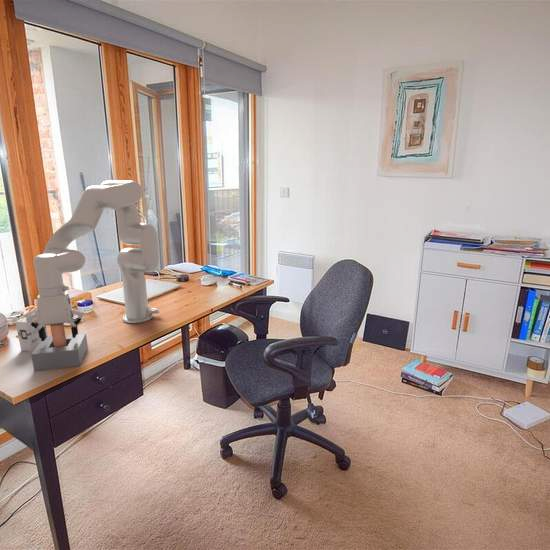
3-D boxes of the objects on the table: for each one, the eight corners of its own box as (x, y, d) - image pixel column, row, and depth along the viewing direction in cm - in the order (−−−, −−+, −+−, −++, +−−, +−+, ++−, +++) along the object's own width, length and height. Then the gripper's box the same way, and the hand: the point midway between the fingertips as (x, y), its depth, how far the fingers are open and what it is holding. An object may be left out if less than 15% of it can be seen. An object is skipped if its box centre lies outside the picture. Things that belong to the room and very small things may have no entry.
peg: (70, 355, 140) (64, 321, 136) (67, 360, 136) (62, 325, 133) (57, 356, 139) (52, 322, 135) (54, 362, 135) (48, 327, 132)
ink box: (37, 341, 151) (31, 305, 148) (49, 342, 151) (43, 305, 147) (20, 351, 143) (13, 313, 139) (32, 352, 143) (25, 314, 139)
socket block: (88, 347, 146) (85, 332, 144) (80, 365, 133) (77, 349, 131) (46, 352, 142) (43, 337, 141) (34, 371, 129) (31, 354, 128)
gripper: (82, 285, 137) (88, 331, 141) (26, 289, 132) (34, 336, 137) (77, 292, 130) (84, 339, 134) (18, 296, 125) (27, 345, 130)
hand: (59, 337), depth 136 cm, fingers open, 9 cm apart
